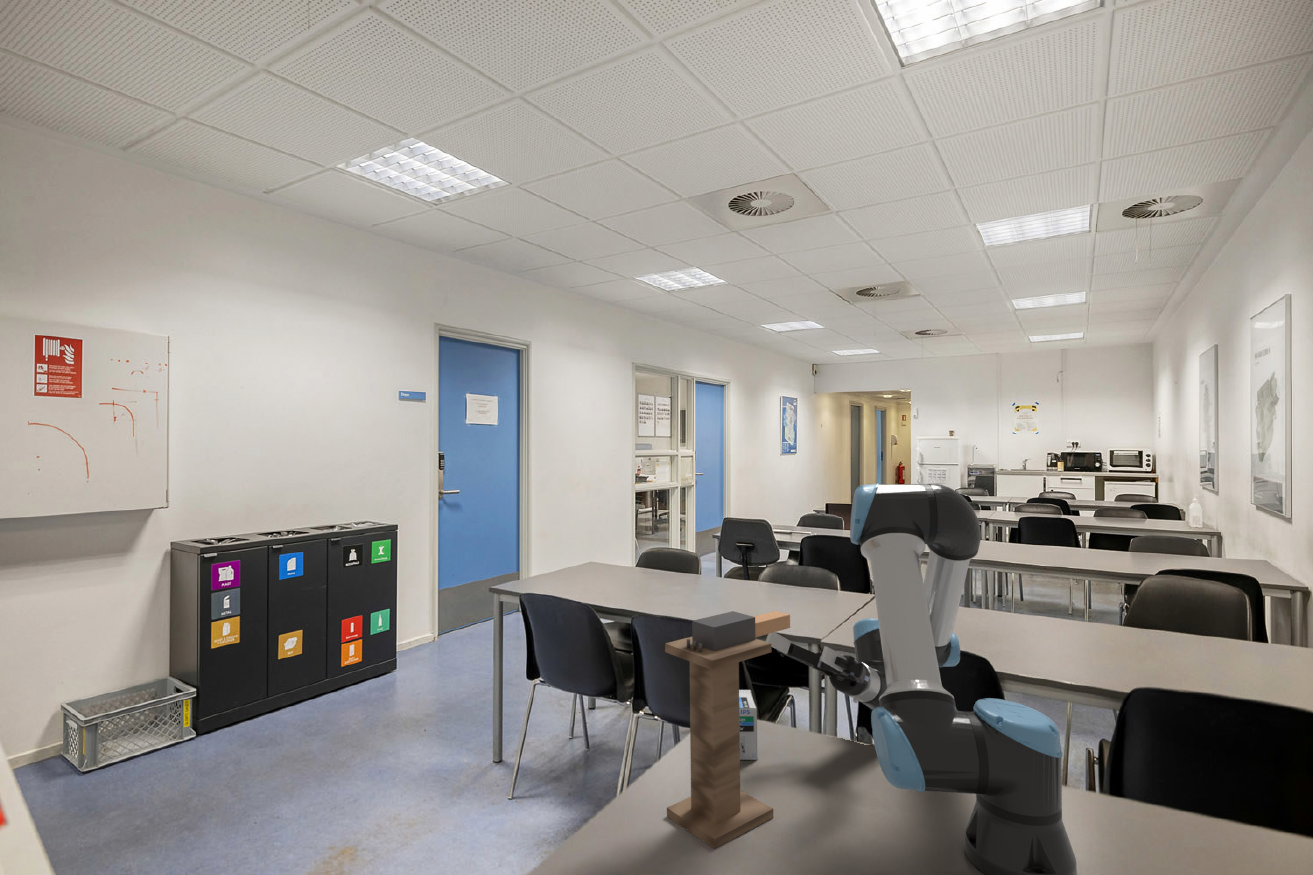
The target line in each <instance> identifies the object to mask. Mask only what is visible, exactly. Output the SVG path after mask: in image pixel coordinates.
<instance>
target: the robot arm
mask: <svg viewBox="0 0 1313 875" xmlns="http://www.w3.org/2000/svg"><path fill="white" fill-rule="evenodd" d="M970 504H971V503H970V502H968V500H967V499H966V498H965V497H964V496H963V495H962V494H960V492H958V491H956V490H954V489H953V488H951V487H949V486H945V485H943V484H939V483H912V484H911V483H903V484H902V483H901V484H899V483H898V484H896V483H895V484H890V483H889V484H888V483H887V484H885V483H884V484H881V483H880V482H877V483H873V484H872V483H871V484H861V485H859V486H858V487H856V489H855V491H854V494H853V498H852V504H851V512H850V525H849V526H850V527H849V529H850V530H849V532H850V533H849V538H850V542H851V543H852V544H854V545H855V546H856V545H857V546H858V545H860V552H861V555H862V556H863V557H864V558H865V559H866V560H868V561H869V562H870V566H871V575H872V582H873V590H874V598H875V606H876V612H877V618H874V617H872V618H871V617H870V618H869V617H868V618H863V619H860V620H858V621H856V622H855V623H854V625H853V628H852V632H853V646H854V653H855V657H854V656H852V655H849V654H843V655H842V654H840V653H838V652H837V651H836V650H834V649H833V648H830V647H828V646H825V645H824V646H823V649H822V652H813V651H811V650H809V649H806V648H805V647H803V646H799V645H797V644H794V643H792V641H791V640H789V639H787V638H786V637H784V636H782V635H781V634H779V633H778V632H773V633H770V634H767V637H766V638H765V639H766V640H765V642H768V643H771V648H774V649H775V650H776V651H777V652H778V653H779V654H780V656H781V657H785V656H786V657H788V658H791V659H793V660H796V661H797V662H800V663H803V664H804V665H806V666H808V667H809V668H810V667H811V668H812V669H814V670H816V671H817V672H820V673H823V675H824V676H826V677H828V679H829V682H830V685H832V687H833V688H834V689H835V690H837V691H839V692H840V693H842V694H844V695H845V696H848V697H850V698H851V699H852V702H853V703H855V704H857V703H858V702H859V703H862V704H863V705H865V706H866V707H868V708H869V709H870V710H872V711H871V715H870V716H871V718H870V719H871V720H870V722H871V724H870V725H871V728H872V738H873V740H872V741H873V745H874V749H875V753H876V756H877V760H878V763H879V767H880V768H881V771H882V773H883V774H882V775H884V778H885V779H886V781H887V782H888V783H889V785H891V786H892V787H894V788H896V789H900V790H908V791H916V792H917V793H924V792H940V793H941V792H942V793H953V794H969V795H970V794H971V795H973V794H974V795H975V803H974V806H973V809H972V812H971V815H970V817H969V820H968V823H967V826H966V829H965V831H964V852H965V854H966V857H967V858H968V859H969V861H970V862H971V864H972V865H973V866H974V867H975V868H977V870H979V871H980V872H982V874H985V875H1077V874H1078V872H1077V863H1078V862H1077V858H1076V854H1075V853H1074V850H1073V847H1072V844H1071V840H1070V838H1069V836H1068V832H1067V830H1066V827H1065V825H1064V822H1063V821H1064V820H1063V810H1062V808H1063V801H1062V800H1063V797H1062V795H1063V794H1062V792H1063V791H1062V788H1063V787H1062V785H1063V784H1062V783H1063V782H1062V774H1063V773H1062V770H1063V768H1062V762H1063V761H1062V760H1063V758H1062V757H1063V755H1064V754H1063V751H1062V745H1061V744H1062V743H1061V734H1060V730H1059V727H1058V725H1057V724H1056V723H1055V722H1054V721H1053V720H1052V719H1051V718H1050V717H1048V716H1047V715H1045V713H1043V712H1040V711H1039V710H1036V709H1034V708H1032V707H1030V706H1027V705H1024V704H1021V703H1018V702H1015V701H1010V700H1008V699H1007V700H1005V699H1001V698H993V697H992V698H991V697H988V698H986V697H985V698H981V699H980V698H979V699H978V700H977V701H975V704H974V706H973V711H963V710H962V711H961V710H958V709H957V706H956V701H955V697H954V695H953V694H951V692H949V691H948V690H947V689H945V688H944V686H943V685H942V680H941V673H940V668H944V667H956V666H957V665H958V664H959V663H960V660H961V645H960V640H959V638H958V636H957V634H956V633H955V632H954V628H955V624H956V620H957V617H958V616H957V615H958V611H959V606H960V603H961V599H962V594H963V590H964V585H965V583H966V578H967V573H968V570H969V565H970V562H971V560H972V559H974V558H976V556H977V555H978V552H979V549H980V546H981V545H980V544H981V538H982V535H981V531H982V530H981V525H980V521H979V519H978V518H979V517H978V516H977V514H976V512H975V510H974V508H973V507H972V505H970ZM926 547H927V548H928V550H929V554H928V558H927V563H926V569H925V575H924V580H923V574H922V569H921V563H920V556H922V554H923V553H925V551H926Z"/></svg>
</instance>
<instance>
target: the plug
mask: <svg viewBox="0 0 1313 875" xmlns="http://www.w3.org/2000/svg"><path fill="white" fill-rule="evenodd" d="M691 623H692V624H691V625H692V626H691V628H692V630H691V631H692V633H691V635H692V636H691V637H692V641H696V645H697V646H698V643H702V647H703V648H706V649H709V650H712V651H717V650H721V649H724V648H728V647H732V646H735V645H739V644H742V643H746V642H750V641H753V640H756V639H757V638H759V637H762V636H765V635H768V634H770V633H773V632H775V633H778V632H780V631H784V630H788V629H790V628H791V614H790V613H785V612H781V611H778V610H774V611H770V612H765V613H762V614H757V615H754V616H752V615H748V614H745V613H740V612H739V611H738V612H737V611H728V612H723V613H719V614H716V615H715V614H714V615H712V616H706V617H702V618H699V619H694V620H692V621H691Z"/></svg>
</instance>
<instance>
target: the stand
mask: <svg viewBox="0 0 1313 875" xmlns="http://www.w3.org/2000/svg"><path fill="white" fill-rule="evenodd" d="M755 639H756V640H753V641H750V642H746V643H742V644H739V645H735V646H732V647H728V648H724V649H721V650H717V651H712V650H709V649H706V648H703V647H702V643H698V646H697V645H696V641H692V636H690V637H684V638H682V639H681V638H680V639H676V640H674V641H669V642H665V643H664V652H665V653H666V654H670V655H671V656H674V657H678V658H679V659H682V660H685V661H688V663H689V728H690V729H689V732H690V733H689V734H690V738H689V739H690V745H689V746H690V796H689V797H687V798H685V799H683V800H680V801H678V802H676V803H674V804H672V805H669V806H667V807H666V817H667V818H668V819H670V820H671V821H673V822H675V824H678V825H679V826H681V827H682V828H684V830H686V831H687V832H689V833H691V834H693V836H695V837H696V838H697V839H698V838H699V840H701V841H702V842H704V843H705V844H706V845H708V846H710V847H711V848H713V849H716V848H719V847H720V846H722V845H724V844H726V843H728V842H730V841H732V840H734V839H735V838H738V837H739V836H742V835H743V834H745V833H746V832H748V831H750V830H753V829H754V828H756V827H758V826H760V825H762V824H764V823H766V822H767V821H770V820H771V819H773V818H774V808H773V807H772V806H770V805H767V804H766V803H764V802H762V801H760V800H758V799H757V798H756V797H753V796H751V795H750V794H748V793H746V792H744V791H742V790H741V760H740V727H739V690H740V670H739V669H740V662H744V661H746V660H751V659H754V658H756V657H760V656H764V655H767V654H770V653H772V646H771V643H768V642H766V640H765V641H764V640H761V639H758V638H755ZM737 836H738V837H737Z"/></svg>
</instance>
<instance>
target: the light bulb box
mask: <svg viewBox="0 0 1313 875" xmlns="http://www.w3.org/2000/svg"><path fill="white" fill-rule="evenodd" d="M755 703H756V702H755V700H754V698H753V694H752V690H751V689H739V727H740V761H748V760H749V761H757V760H759V759H758V753H759V752H758V708H757V705H756V704H755Z"/></svg>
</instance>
